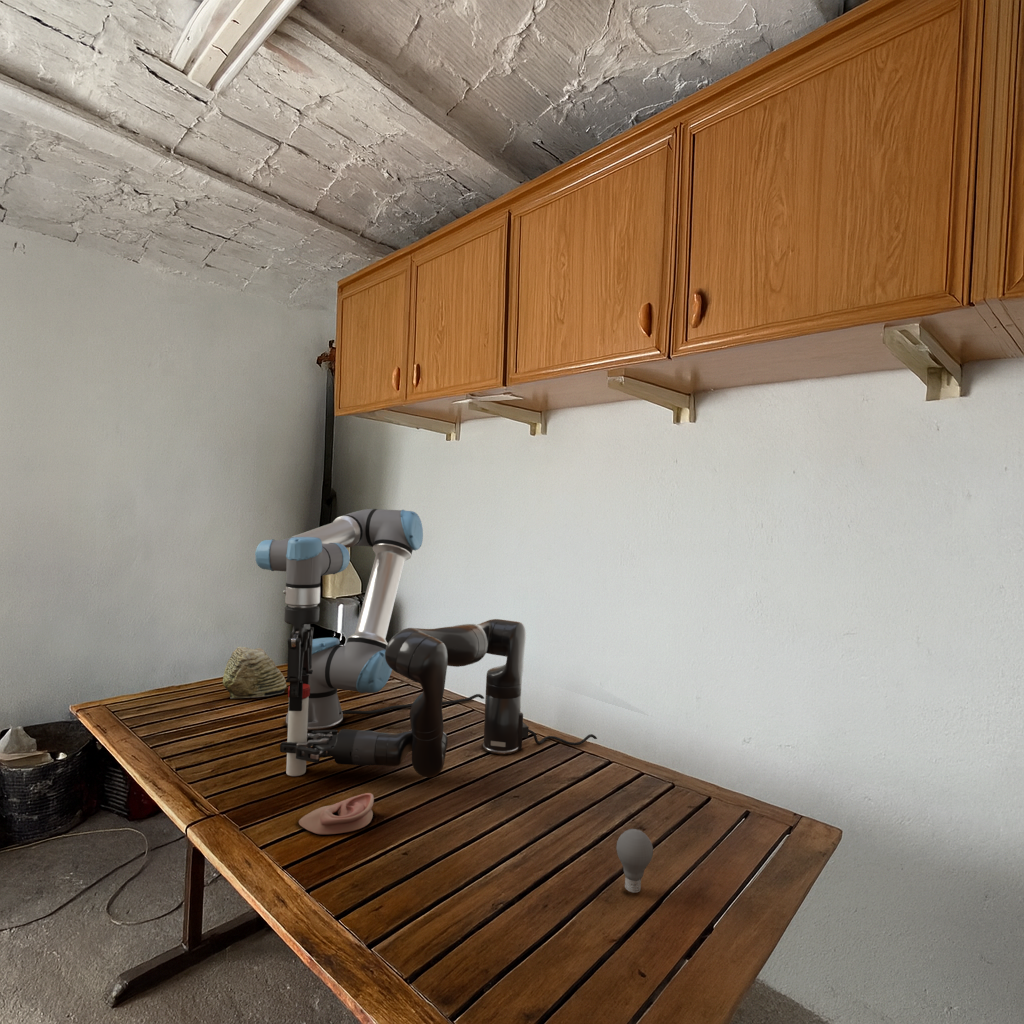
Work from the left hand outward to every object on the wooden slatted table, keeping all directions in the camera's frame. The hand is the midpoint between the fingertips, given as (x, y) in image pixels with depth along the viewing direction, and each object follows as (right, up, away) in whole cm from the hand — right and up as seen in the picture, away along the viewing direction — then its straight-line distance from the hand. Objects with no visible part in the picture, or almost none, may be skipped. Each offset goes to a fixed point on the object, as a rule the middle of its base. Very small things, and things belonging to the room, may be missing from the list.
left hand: (298, 706), depth 145 cm
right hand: (-3, -8, 0) cm, 9 cm away
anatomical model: (+14, -16, -21) cm, 30 cm away
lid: (0, +4, 0) cm, 4 cm away
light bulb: (+69, -19, -39) cm, 82 cm away
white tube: (-1, -15, 0) cm, 15 cm away
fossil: (-32, -13, +53) cm, 63 cm away
